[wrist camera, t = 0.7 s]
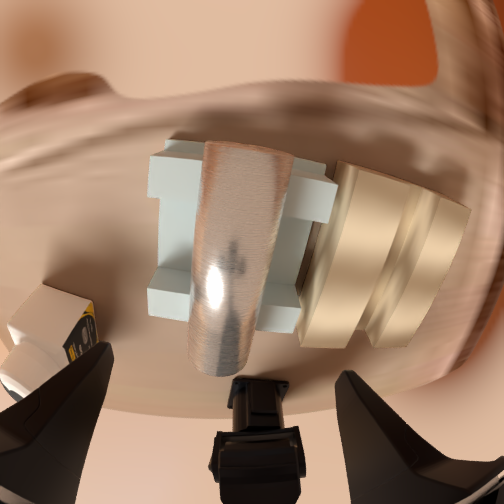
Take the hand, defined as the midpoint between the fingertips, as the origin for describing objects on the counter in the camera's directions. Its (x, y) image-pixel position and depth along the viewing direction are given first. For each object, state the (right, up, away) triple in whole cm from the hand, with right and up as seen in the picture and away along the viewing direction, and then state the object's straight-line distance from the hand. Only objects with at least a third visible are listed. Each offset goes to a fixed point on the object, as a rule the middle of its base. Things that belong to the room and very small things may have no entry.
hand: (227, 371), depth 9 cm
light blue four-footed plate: (-1, +6, +11) cm, 13 cm away
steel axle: (0, +3, +6) cm, 7 cm away
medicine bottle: (-19, -3, +15) cm, 24 cm away
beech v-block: (+11, +4, +13) cm, 17 cm away
